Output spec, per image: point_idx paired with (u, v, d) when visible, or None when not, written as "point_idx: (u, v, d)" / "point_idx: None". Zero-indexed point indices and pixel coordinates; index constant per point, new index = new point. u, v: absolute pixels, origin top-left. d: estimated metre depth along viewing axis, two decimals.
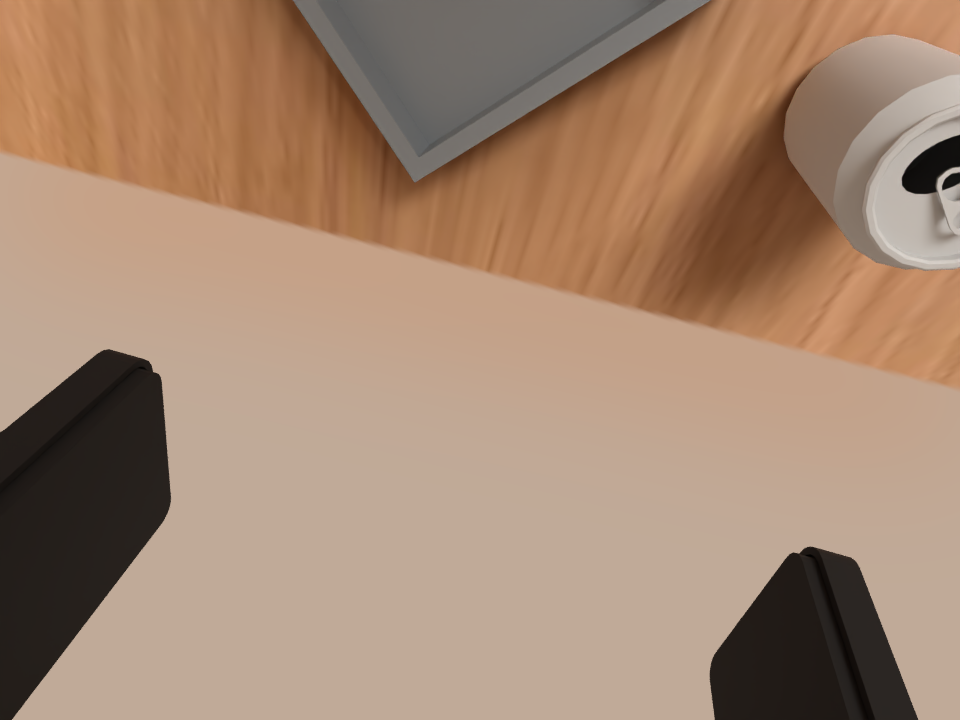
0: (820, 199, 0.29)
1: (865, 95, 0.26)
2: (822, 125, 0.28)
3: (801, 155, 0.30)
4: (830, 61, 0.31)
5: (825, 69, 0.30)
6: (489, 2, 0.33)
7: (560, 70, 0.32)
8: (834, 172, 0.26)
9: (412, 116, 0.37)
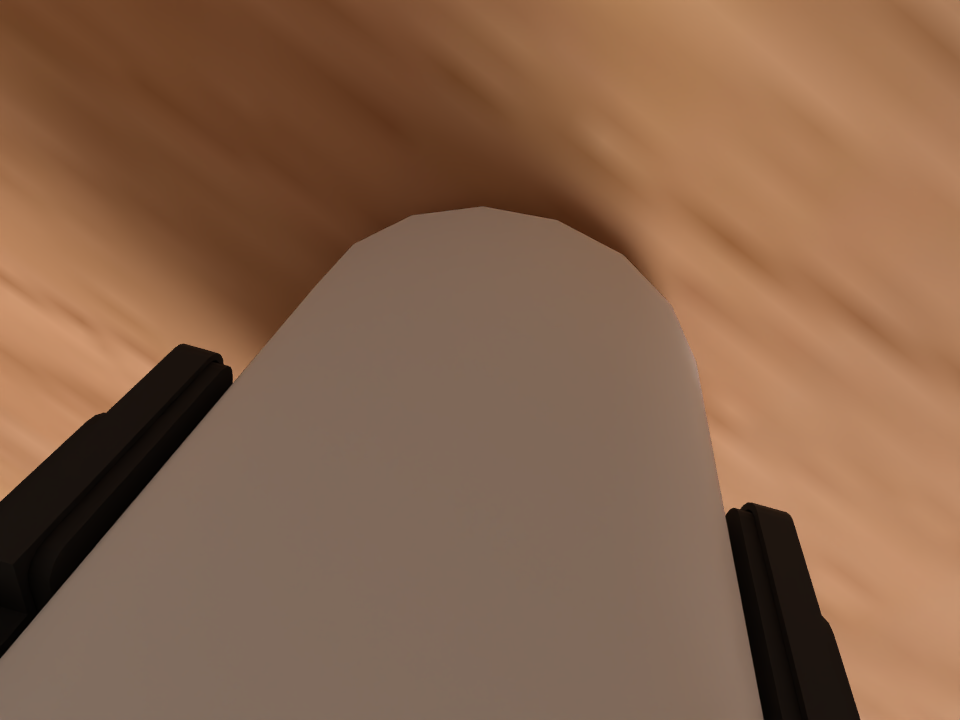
0: (210, 524, 0.05)
1: None
2: (592, 501, 0.06)
3: (440, 333, 0.07)
4: (688, 361, 0.10)
5: (682, 360, 0.10)
6: None
7: None
8: None
9: None
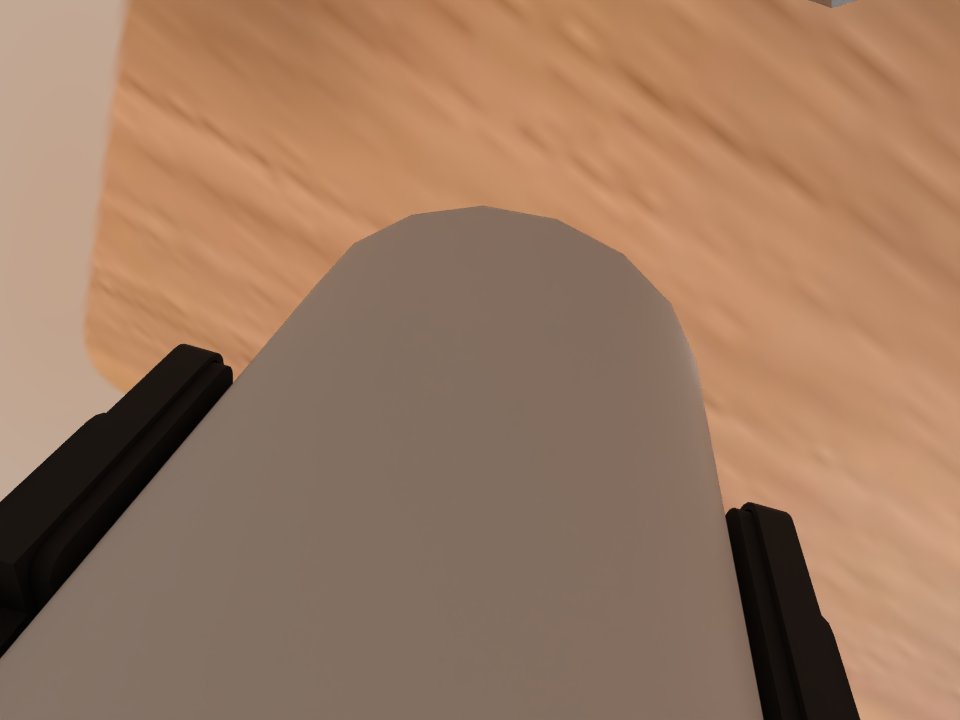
0: (212, 521, 0.05)
1: None
2: (591, 498, 0.06)
3: (440, 332, 0.07)
4: (688, 360, 0.10)
5: (681, 357, 0.10)
6: None
7: None
8: None
9: None
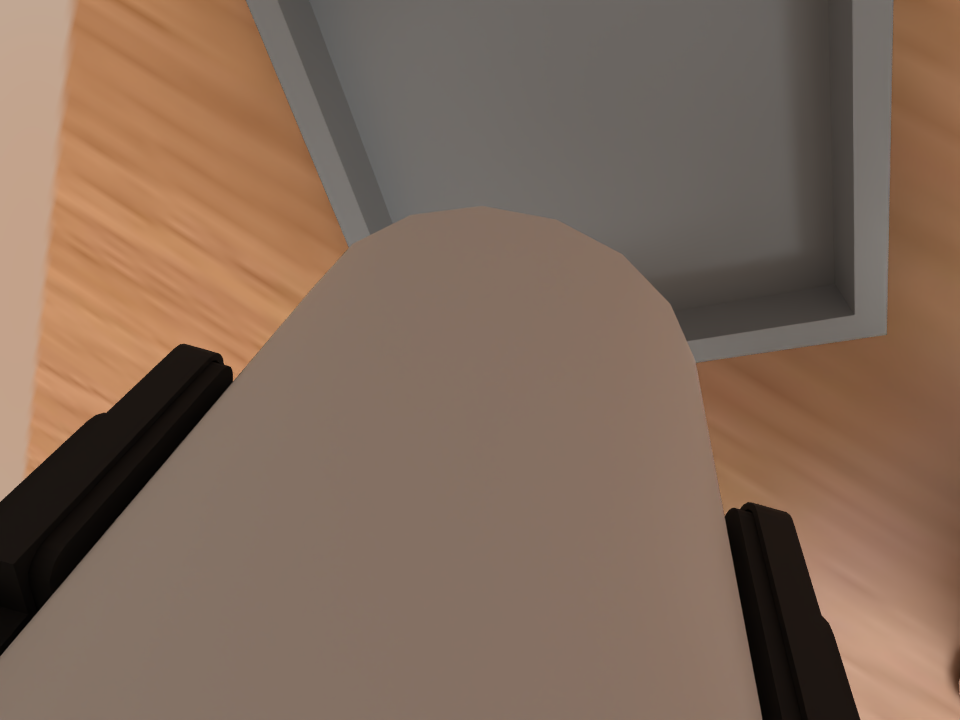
0: (209, 523, 0.05)
1: None
2: (591, 500, 0.06)
3: (439, 332, 0.07)
4: (687, 361, 0.10)
5: (681, 358, 0.10)
6: (468, 117, 0.24)
7: (359, 215, 0.24)
8: None
9: None
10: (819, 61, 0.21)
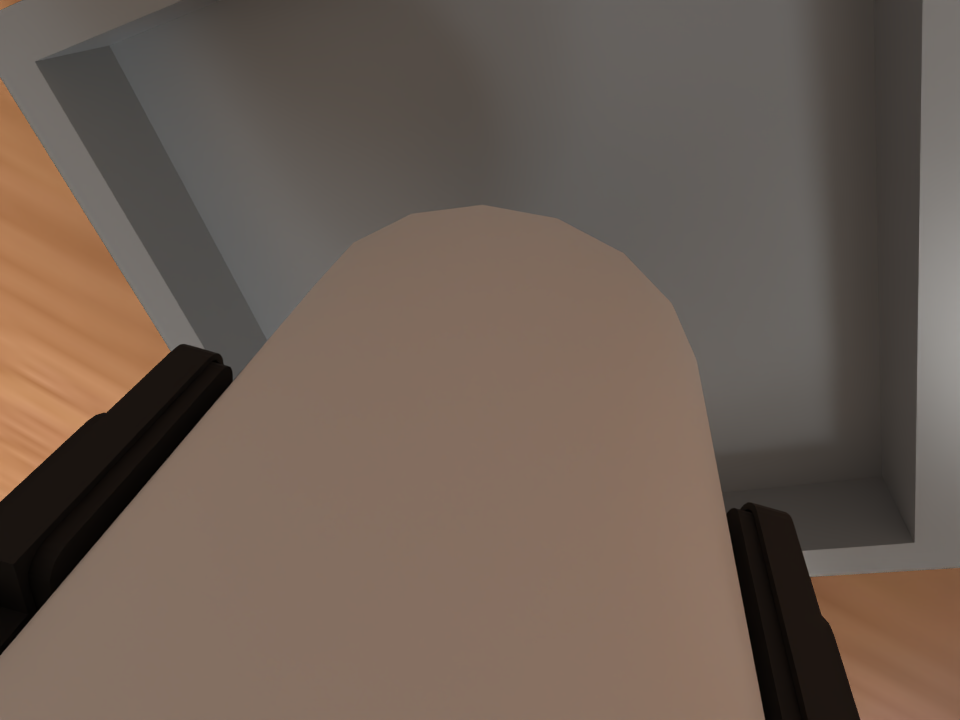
0: (209, 522, 0.05)
1: None
2: (591, 500, 0.06)
3: (441, 331, 0.07)
4: (689, 360, 0.10)
5: (682, 357, 0.09)
6: None
7: None
8: None
9: (170, 25, 0.15)
10: (862, 202, 0.14)
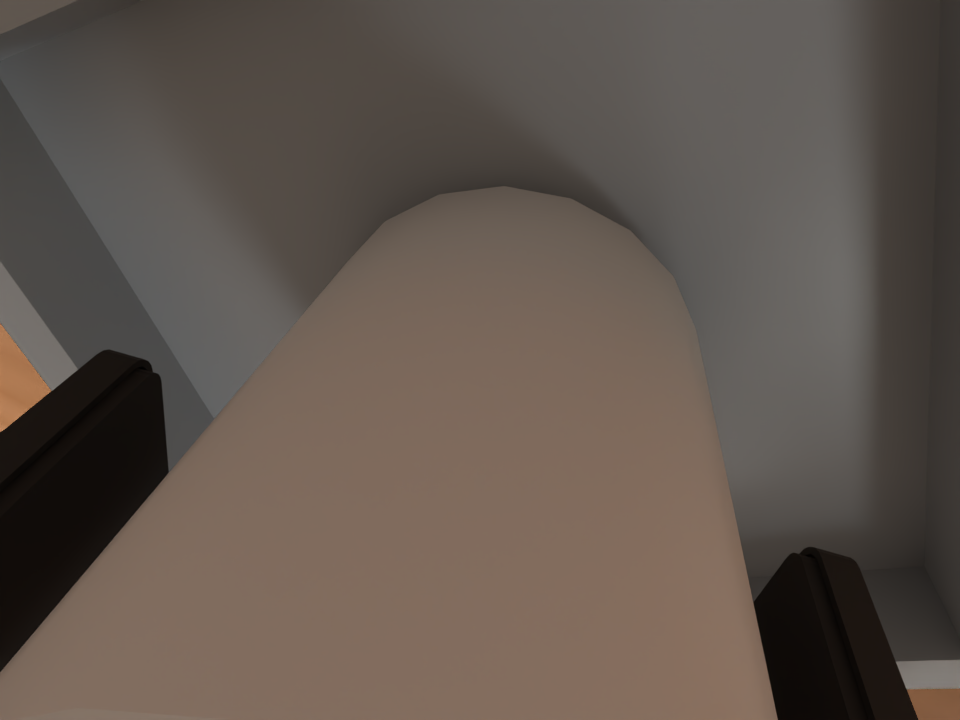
0: (296, 420, 0.06)
1: (742, 643, 0.06)
2: (610, 413, 0.07)
3: (475, 284, 0.08)
4: (689, 326, 0.11)
5: (683, 322, 0.11)
6: None
7: None
8: (448, 693, 0.04)
9: (62, 40, 0.12)
10: (914, 258, 0.12)
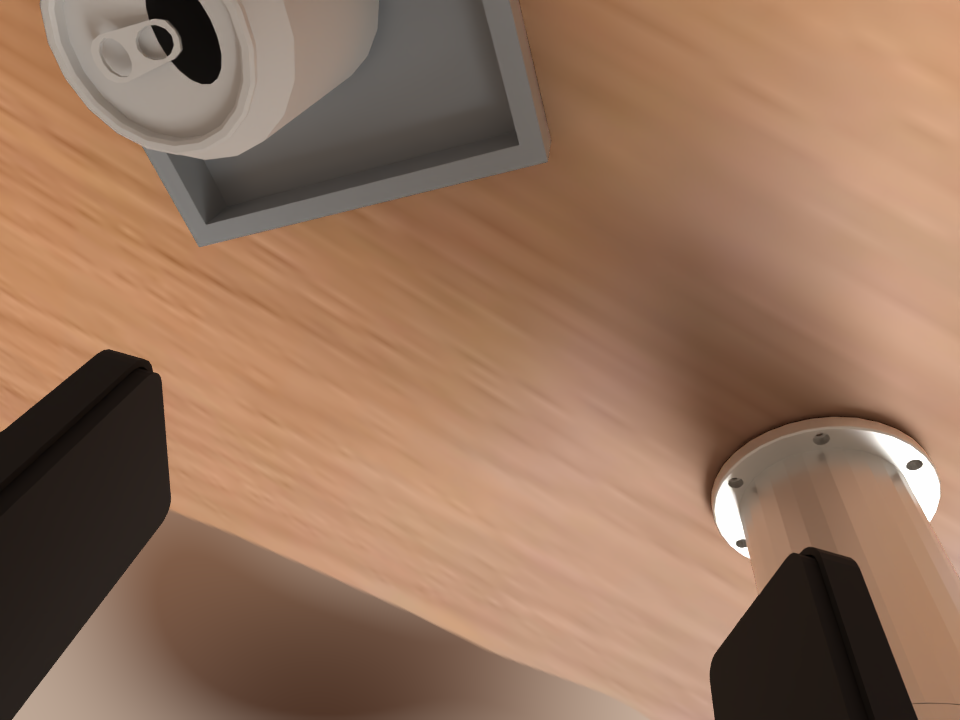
0: None
1: None
2: None
3: None
4: None
5: None
6: None
7: None
8: None
9: None
10: None
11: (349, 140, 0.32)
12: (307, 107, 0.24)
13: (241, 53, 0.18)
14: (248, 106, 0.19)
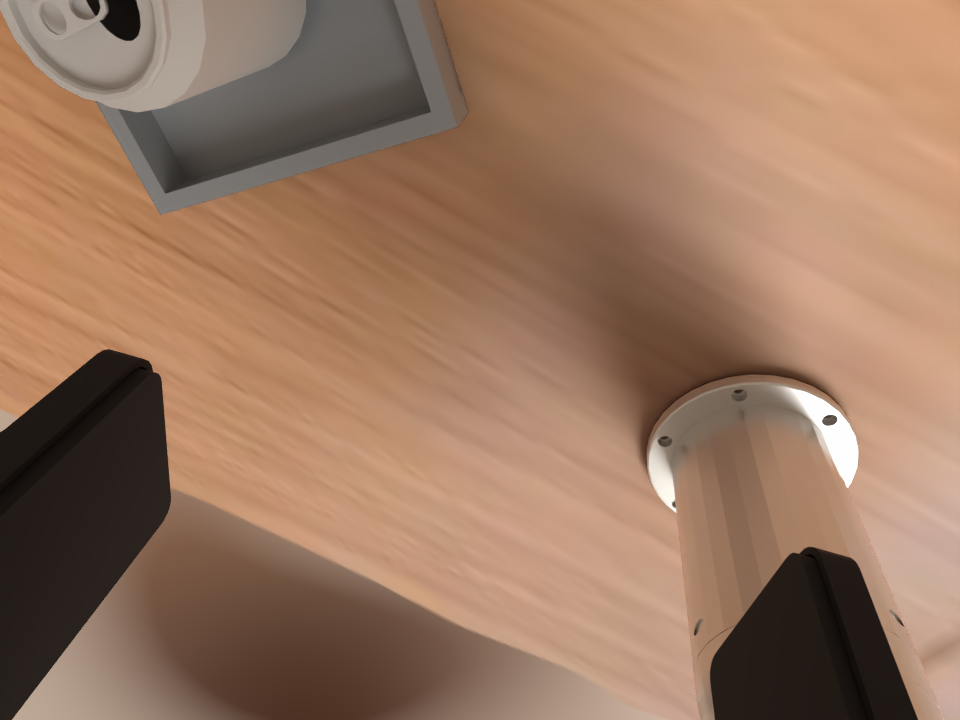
0: None
1: None
2: None
3: None
4: None
5: None
6: None
7: None
8: None
9: None
10: None
11: (290, 116, 0.35)
12: (233, 73, 0.28)
13: (153, 10, 0.22)
14: (163, 57, 0.23)
